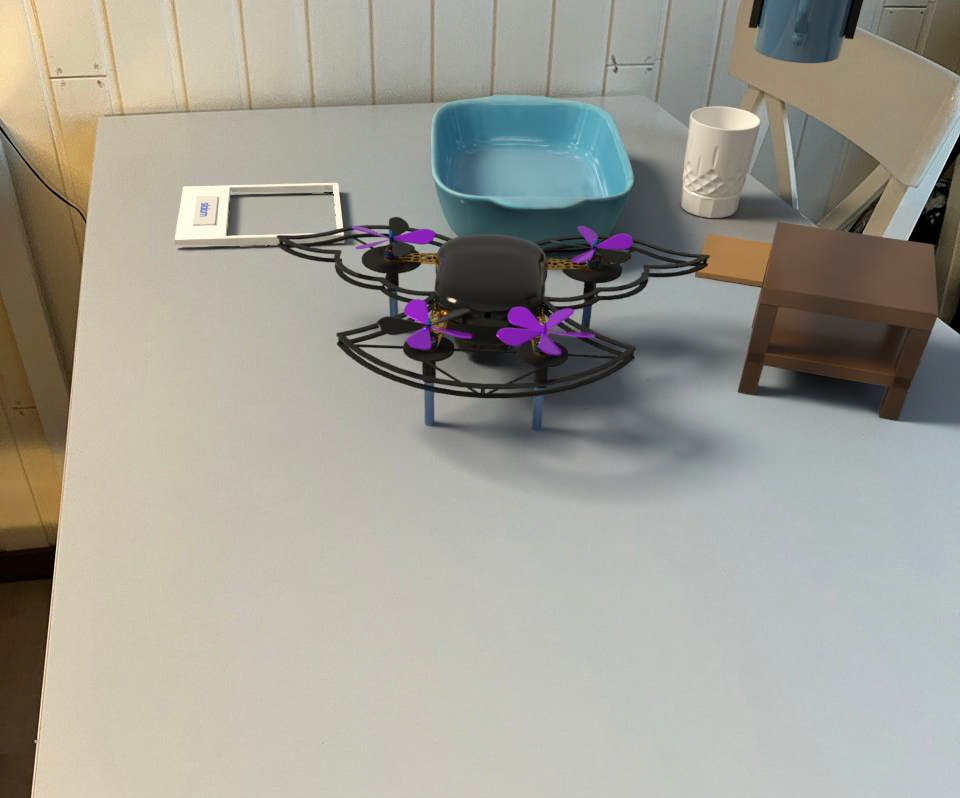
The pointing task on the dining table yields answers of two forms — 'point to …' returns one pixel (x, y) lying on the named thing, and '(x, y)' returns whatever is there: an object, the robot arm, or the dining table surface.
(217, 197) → the photo frame
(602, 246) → the drone
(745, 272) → the cork mat
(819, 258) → the walnut side table
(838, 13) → the mug
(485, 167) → the casserole dish
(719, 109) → the white cup
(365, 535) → the dining table surface
